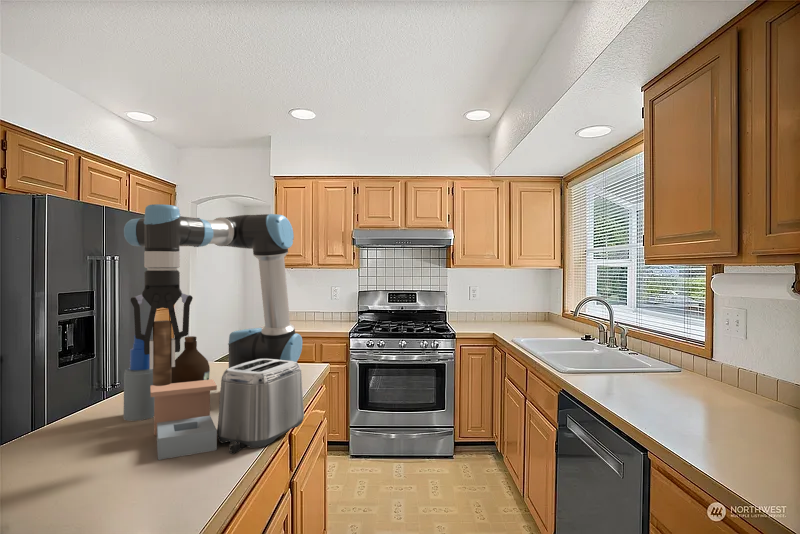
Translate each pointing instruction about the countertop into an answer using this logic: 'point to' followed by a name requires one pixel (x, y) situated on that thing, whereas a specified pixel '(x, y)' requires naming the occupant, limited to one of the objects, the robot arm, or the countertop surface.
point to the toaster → (259, 402)
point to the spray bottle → (138, 385)
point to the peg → (162, 353)
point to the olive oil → (190, 364)
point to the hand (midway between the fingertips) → (162, 366)
